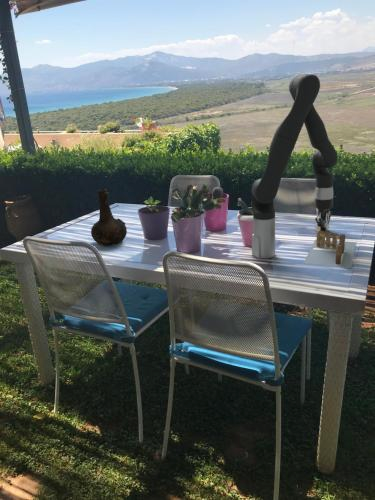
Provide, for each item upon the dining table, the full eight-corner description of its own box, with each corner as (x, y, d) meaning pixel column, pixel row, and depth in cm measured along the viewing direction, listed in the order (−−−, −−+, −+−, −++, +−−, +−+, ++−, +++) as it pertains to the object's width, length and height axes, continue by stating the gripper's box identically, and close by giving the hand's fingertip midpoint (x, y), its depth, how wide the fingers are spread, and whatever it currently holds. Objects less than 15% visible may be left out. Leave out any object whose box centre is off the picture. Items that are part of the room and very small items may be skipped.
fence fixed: (340, 264, 164) (341, 246, 162) (335, 264, 165) (336, 246, 163) (343, 252, 177) (344, 235, 174) (339, 252, 178) (339, 235, 175)
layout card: (350, 268, 161) (350, 267, 161) (303, 264, 169) (303, 263, 169) (356, 243, 187) (356, 242, 187) (315, 240, 195) (315, 239, 195)
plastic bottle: (329, 233, 202) (331, 193, 195) (315, 233, 203) (316, 193, 197) (328, 229, 208) (330, 190, 201) (314, 230, 209) (315, 191, 203)
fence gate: (345, 249, 178) (346, 234, 176) (343, 251, 177) (343, 235, 175) (317, 244, 187) (318, 229, 185) (315, 245, 186) (316, 230, 183)
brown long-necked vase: (131, 245, 208) (124, 190, 198) (95, 251, 202) (86, 195, 193) (124, 235, 224) (117, 184, 214) (91, 241, 218) (82, 188, 209)
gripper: (326, 201, 173) (325, 240, 179) (338, 193, 182) (337, 231, 188) (309, 199, 178) (309, 237, 184) (321, 192, 187) (321, 229, 193)
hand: (323, 234), depth 186 cm, fingers closed
